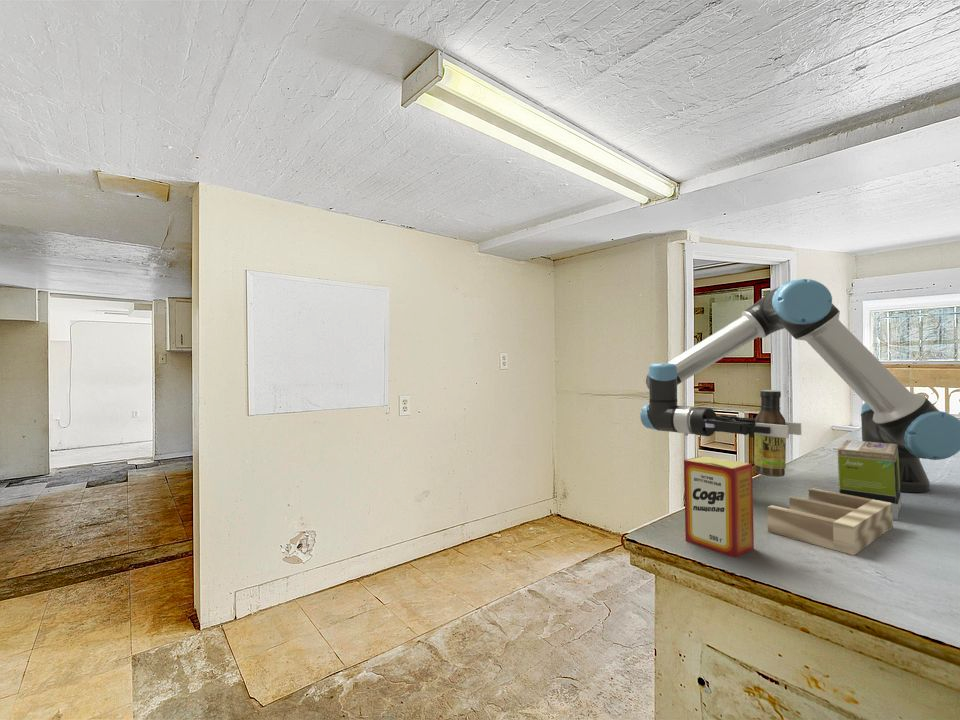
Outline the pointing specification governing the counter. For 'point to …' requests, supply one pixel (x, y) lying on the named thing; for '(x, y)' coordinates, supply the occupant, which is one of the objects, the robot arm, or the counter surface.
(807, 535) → the comb rack
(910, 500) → the counter surface
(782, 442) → the sauce bottle
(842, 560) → the counter surface
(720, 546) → the baking soda box
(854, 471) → the tea box
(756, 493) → the counter surface
